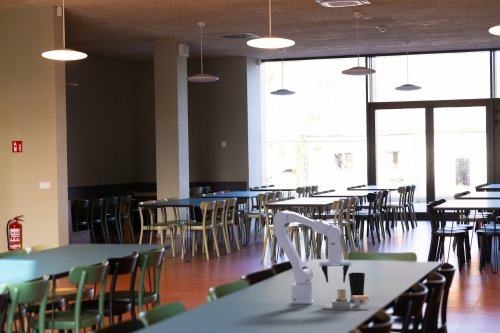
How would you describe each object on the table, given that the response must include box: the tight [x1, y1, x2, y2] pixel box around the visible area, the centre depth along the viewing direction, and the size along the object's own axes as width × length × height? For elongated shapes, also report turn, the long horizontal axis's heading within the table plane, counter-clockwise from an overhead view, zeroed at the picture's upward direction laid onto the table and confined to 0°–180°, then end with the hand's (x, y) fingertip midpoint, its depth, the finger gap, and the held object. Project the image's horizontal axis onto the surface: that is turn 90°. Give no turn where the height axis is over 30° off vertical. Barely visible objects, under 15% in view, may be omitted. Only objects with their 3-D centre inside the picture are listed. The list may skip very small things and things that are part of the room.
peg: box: [336, 288, 347, 301], centre depth 352 cm, size 4×4×7 cm
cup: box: [348, 272, 366, 300], centre depth 372 cm, size 8×8×12 cm
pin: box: [351, 295, 369, 301], centre depth 350 cm, size 7×2×2 cm, turn 80°
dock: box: [322, 297, 361, 311], centre depth 352 cm, size 16×10×5 cm, turn 80°
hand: (335, 282), depth 362 cm, fingers open, 7 cm apart
